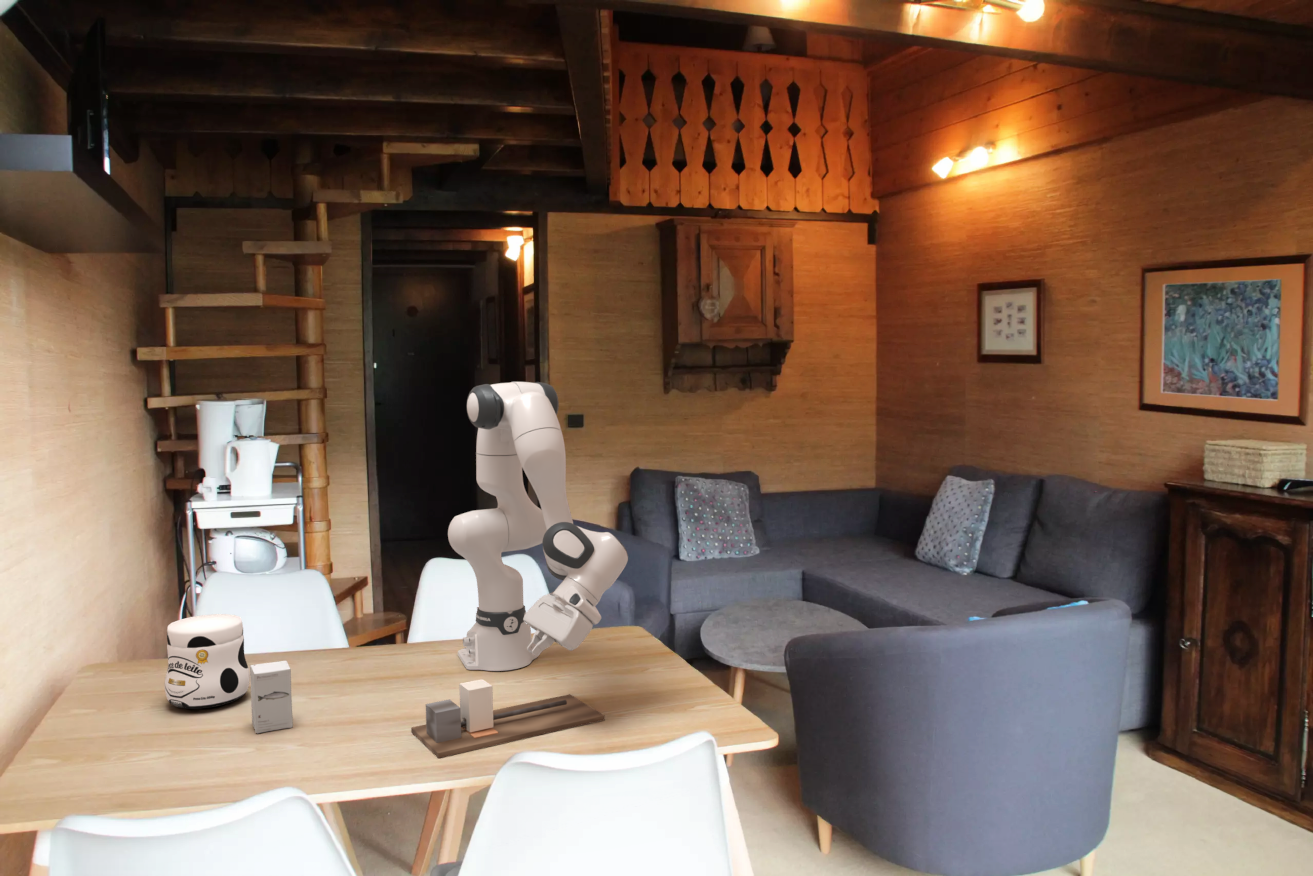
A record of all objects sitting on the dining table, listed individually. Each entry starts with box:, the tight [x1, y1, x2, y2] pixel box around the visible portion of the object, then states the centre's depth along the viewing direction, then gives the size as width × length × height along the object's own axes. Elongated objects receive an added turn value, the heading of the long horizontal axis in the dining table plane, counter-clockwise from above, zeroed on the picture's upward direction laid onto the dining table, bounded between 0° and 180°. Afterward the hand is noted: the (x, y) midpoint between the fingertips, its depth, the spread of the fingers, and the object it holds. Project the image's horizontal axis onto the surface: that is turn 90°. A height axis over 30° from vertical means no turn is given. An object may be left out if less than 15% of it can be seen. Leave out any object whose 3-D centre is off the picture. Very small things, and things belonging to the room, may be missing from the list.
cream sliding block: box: [458, 678, 494, 732], centre depth 199 cm, size 5×5×8 cm
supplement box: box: [249, 660, 294, 734], centre depth 205 cm, size 7×7×13 cm
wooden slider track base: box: [410, 693, 606, 759], centre depth 203 cm, size 16×36×7 cm, turn 122°
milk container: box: [164, 613, 250, 710], centre depth 220 cm, size 17×17×18 cm
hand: (531, 653), depth 205 cm, fingers closed
